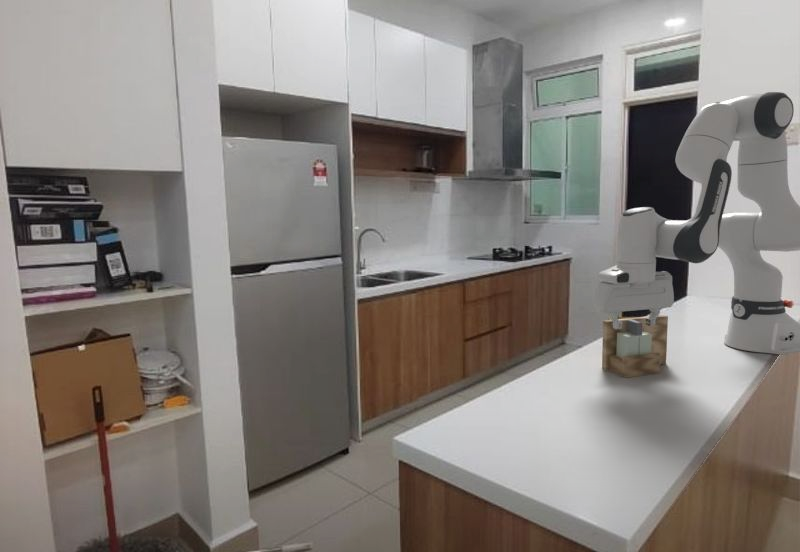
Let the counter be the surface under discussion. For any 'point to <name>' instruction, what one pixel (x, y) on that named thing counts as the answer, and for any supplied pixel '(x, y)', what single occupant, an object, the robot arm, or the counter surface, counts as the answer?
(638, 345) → the pale green box
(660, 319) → the wall board
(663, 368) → the counter surface
